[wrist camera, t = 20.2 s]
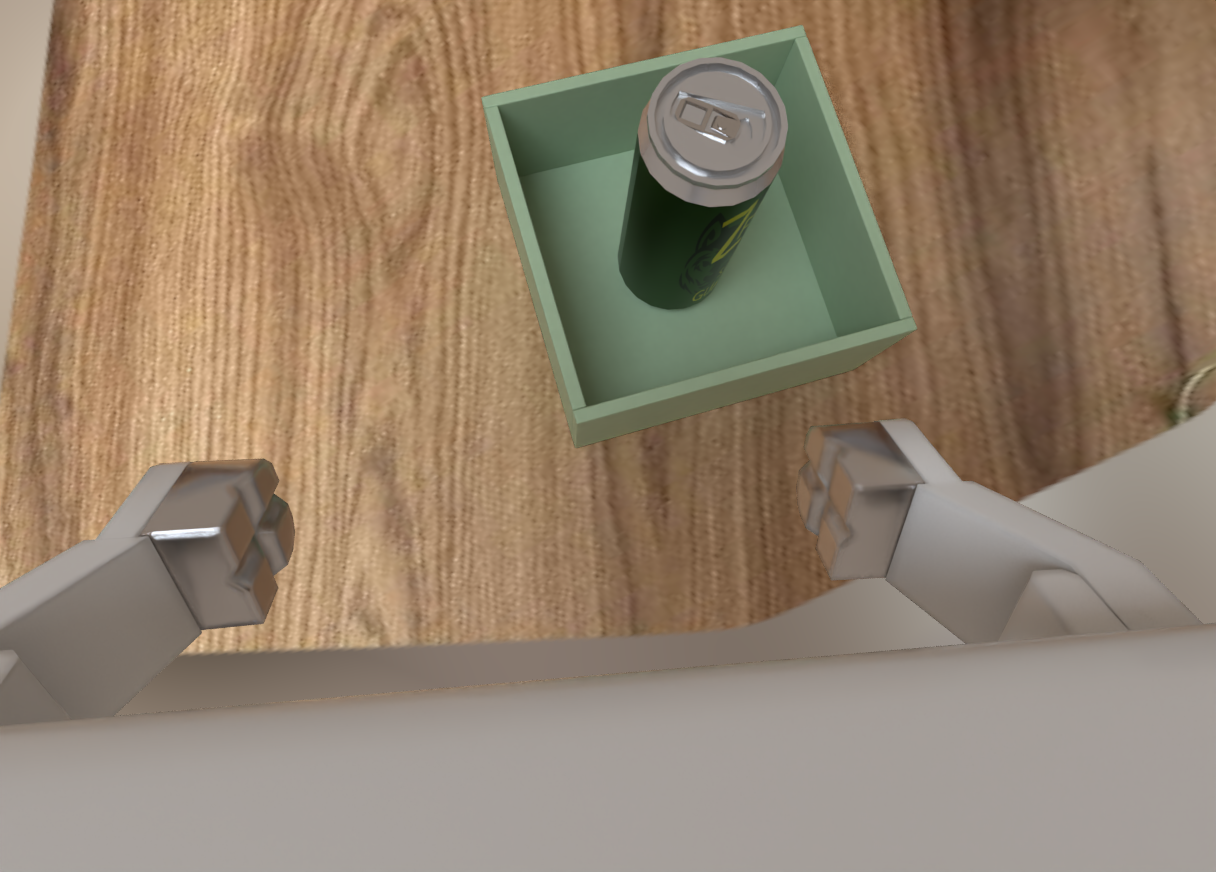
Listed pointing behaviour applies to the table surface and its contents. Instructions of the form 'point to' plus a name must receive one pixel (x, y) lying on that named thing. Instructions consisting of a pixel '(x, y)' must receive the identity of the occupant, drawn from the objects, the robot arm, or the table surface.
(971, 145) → the table surface
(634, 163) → the beer can
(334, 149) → the table surface
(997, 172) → the table surface
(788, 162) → the green open box
